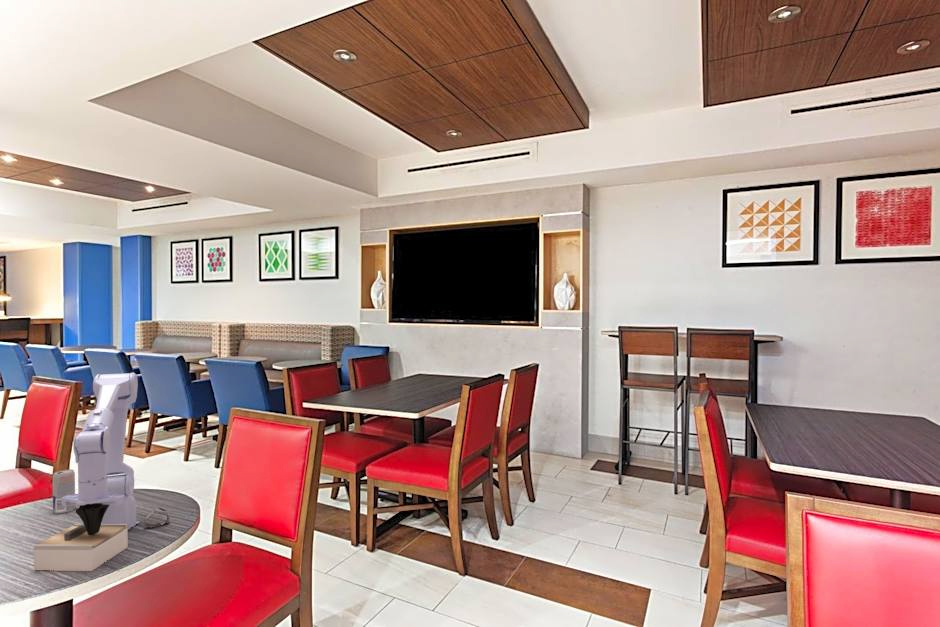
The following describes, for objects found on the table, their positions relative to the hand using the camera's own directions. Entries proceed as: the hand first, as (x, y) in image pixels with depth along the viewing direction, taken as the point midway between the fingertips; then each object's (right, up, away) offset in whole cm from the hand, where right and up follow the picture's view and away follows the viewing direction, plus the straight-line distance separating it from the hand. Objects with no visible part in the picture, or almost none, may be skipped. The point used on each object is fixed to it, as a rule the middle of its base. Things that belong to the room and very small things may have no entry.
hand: (93, 533), depth 125 cm
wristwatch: (+4, -6, +19) cm, 20 cm away
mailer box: (-3, -6, 0) cm, 7 cm away
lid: (-3, -1, 0) cm, 3 cm away
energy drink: (-32, -6, +30) cm, 44 cm away
